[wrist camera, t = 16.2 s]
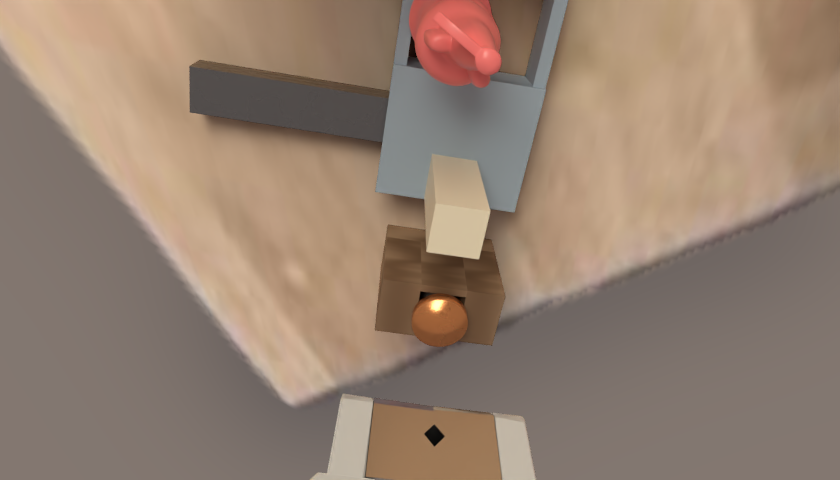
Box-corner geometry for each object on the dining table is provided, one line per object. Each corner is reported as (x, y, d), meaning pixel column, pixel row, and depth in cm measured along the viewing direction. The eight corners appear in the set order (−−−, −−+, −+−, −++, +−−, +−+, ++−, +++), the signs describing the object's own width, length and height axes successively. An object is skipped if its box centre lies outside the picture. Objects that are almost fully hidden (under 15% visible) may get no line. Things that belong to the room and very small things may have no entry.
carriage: (566, -42, 38) (622, -30, 28) (507, 193, 45) (534, 271, 35) (412, -71, 37) (412, -69, 27) (377, 174, 44) (367, 247, 34)
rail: (522, 112, 42) (527, 121, 40) (512, 153, 44) (516, 163, 42) (199, 60, 40) (189, 66, 39) (199, 104, 42) (189, 112, 40)
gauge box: (491, 239, 47) (505, 296, 40) (480, 284, 49) (491, 345, 41) (387, 224, 46) (383, 279, 39) (380, 270, 48) (374, 330, 41)
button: (465, 252, 44) (473, 304, 38) (455, 294, 46) (461, 349, 40) (416, 245, 44) (416, 296, 38) (408, 287, 46) (407, 342, 40)
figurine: (385, 19, 39) (397, 72, 26) (436, -50, 37) (477, -32, 24) (447, 69, 41) (487, 143, 28) (498, 5, 39) (567, 50, 26)
